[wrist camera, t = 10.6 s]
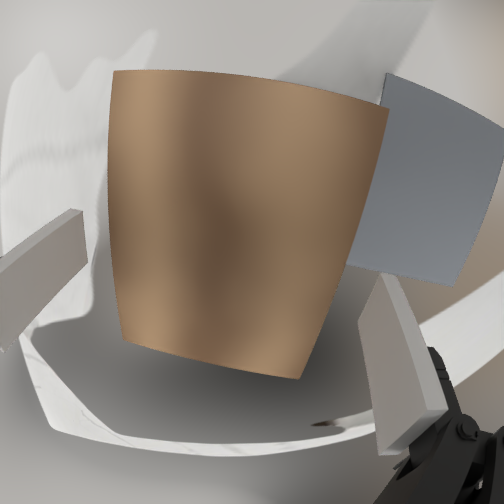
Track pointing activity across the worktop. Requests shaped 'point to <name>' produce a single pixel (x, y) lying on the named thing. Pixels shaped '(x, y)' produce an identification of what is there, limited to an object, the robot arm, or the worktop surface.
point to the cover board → (233, 211)
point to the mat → (427, 185)
